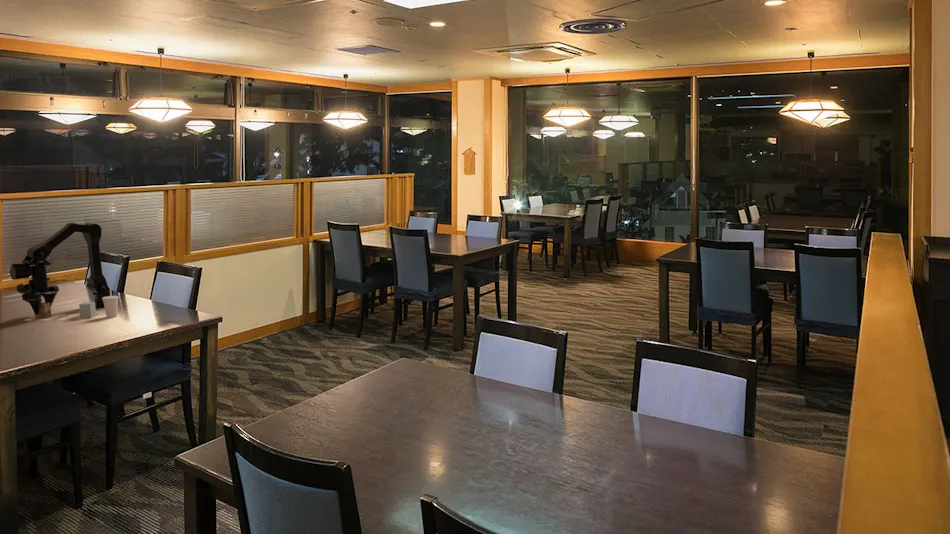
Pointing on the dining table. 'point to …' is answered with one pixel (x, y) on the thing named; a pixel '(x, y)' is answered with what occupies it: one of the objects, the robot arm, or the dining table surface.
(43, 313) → the walnut block
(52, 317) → the board
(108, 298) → the smoothie
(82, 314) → the slate block
